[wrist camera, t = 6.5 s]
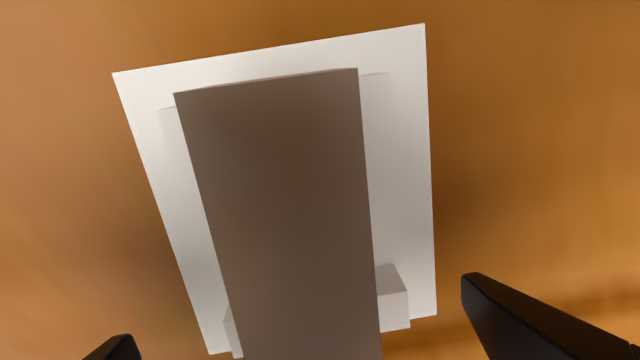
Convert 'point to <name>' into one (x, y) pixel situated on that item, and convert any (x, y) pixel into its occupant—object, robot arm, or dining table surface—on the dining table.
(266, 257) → the gray cuboid brick
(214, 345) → the display rest
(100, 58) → the dining table surface
